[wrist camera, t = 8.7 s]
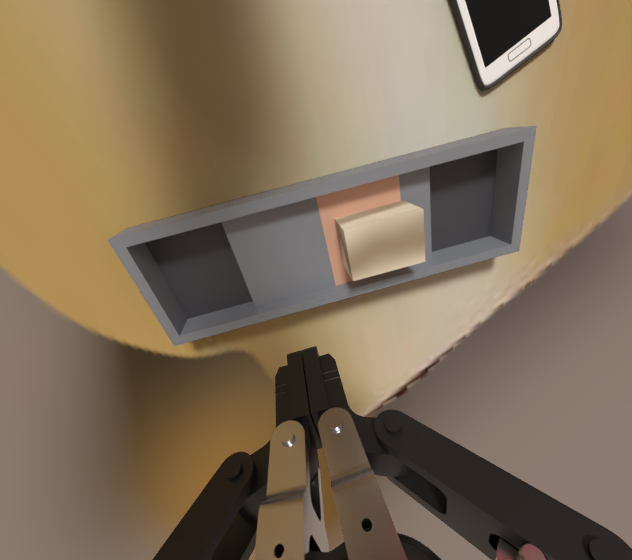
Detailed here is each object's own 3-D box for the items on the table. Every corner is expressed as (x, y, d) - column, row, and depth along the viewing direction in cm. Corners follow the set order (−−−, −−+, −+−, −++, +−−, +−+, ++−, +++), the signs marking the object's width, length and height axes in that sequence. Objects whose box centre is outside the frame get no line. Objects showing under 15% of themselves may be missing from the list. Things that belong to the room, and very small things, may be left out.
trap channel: (127, 228, 26) (107, 239, 23) (505, 127, 27) (536, 125, 24) (184, 326, 31) (174, 346, 28) (495, 240, 32) (519, 250, 29)
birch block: (334, 218, 26) (343, 230, 23) (403, 200, 26) (423, 208, 23) (343, 264, 29) (353, 281, 25) (406, 247, 29) (425, 261, 25)
